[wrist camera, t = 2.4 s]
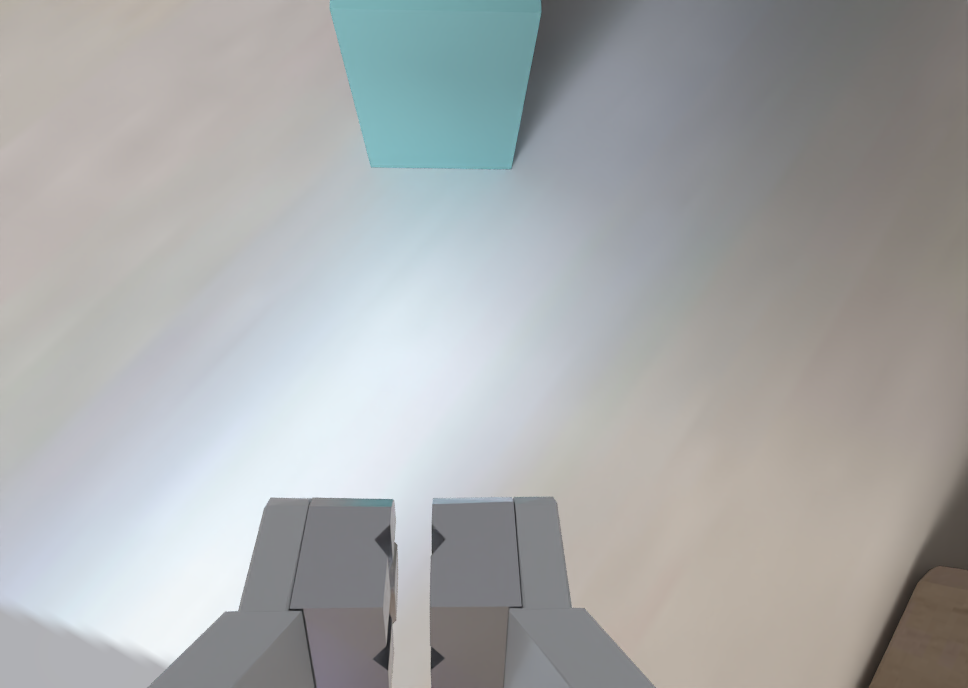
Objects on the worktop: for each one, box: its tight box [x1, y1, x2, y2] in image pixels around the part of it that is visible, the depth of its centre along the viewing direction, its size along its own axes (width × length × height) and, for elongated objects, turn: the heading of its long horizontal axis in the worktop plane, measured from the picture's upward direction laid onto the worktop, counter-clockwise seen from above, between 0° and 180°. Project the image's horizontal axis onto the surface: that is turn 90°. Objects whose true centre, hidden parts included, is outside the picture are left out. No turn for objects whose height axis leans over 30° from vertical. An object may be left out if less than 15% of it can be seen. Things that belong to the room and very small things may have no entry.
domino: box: [330, 0, 541, 169], centre depth 24 cm, size 2×5×10 cm, turn 90°
